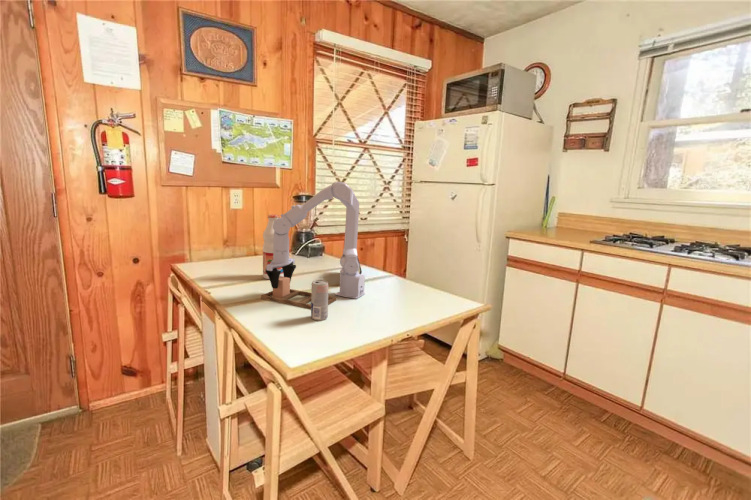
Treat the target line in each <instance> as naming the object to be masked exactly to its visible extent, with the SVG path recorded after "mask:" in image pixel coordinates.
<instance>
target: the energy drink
mask: <svg viewBox="0 0 751 500" xmlns="http://www.w3.org/2000/svg"><path fill="white" fill-rule="evenodd" d="M310 293H311V301H310V304H311V308H310V318H311V319H312V320H314V321H317V322H318V321H319V322H320V321H325V320H327V319H328V318H329V317H328V316H329V313H328V312H329V305H328V296H329V281H327V280H321V279H318V280H313V281H312V282H311V291H310Z"/></svg>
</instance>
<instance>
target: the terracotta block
mask: <svg viewBox="0 0 751 500" xmlns="http://www.w3.org/2000/svg"><path fill="white" fill-rule="evenodd" d="M290 289H291V281H290V278H287V277H282V276H279V282H278V288H277V289H276V288H272V291H273V295H272V297H277V298H281V297H283V296H286V295H288V294H290Z"/></svg>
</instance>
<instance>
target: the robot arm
mask: <svg viewBox="0 0 751 500" xmlns="http://www.w3.org/2000/svg"><path fill="white" fill-rule="evenodd" d="M352 188H353V187H351V186H349V185H348V184H347V183H346V182H343V181H334V182H333V183H331V185H328V186H326V187H324V188H323V189H321V190H320V191H318V192H317V193H316V194H315V195H313V196H312V197H311V198H310V199H308V200H307V201H305V203H303V204H296V205H294V204H292V205H291V207H290V209H289V210H288V211H286V212H285V213H281V214H280V218H278V219H276V220H275V222H274V224H273V229H274V238H273V260H272V261H271V263H270V264H268V265H267V269H266V273H267V275H268V277H269V279H268V280H269V281H270V285H271V288H272V289H273V288H276V289H277V288H278V282H279V276H280V273H281V271H278V270H277V268H280V267H282V269H283V273H284V277H287V278H290V282H291V281H292V277H293V274H294V272H295V269H296V268H297V265H296V264H295V263H296V262H295V261H296V259H295V258H292V257H290V237H289V232H290V230H291V228H294V227H295V226H297V225H298V224H300V223H301V222H302V221H303V220H305V219H306V218H307V217H308V212H309V211H311V210H312V209H314V208H315V207H317V206H319V205H320V204H321V203H322V202H324V201H330V200H334V198H335V199H337V200H338V201H340V202H341V203H342V204H343V205H344V206H345V207H346V208H345V209H346V211H345V224H344V225H345V229H344V245H343V250H342V256H341V257H340V260H339V264H340V266H341V267H342V268H341V269H340V270H339V291H338V292H336V293H334V295H335V296H337V297H345V298H350V299H355V300H358V299H359V298H361V297H362V296H364V295H365V294H366V293H365V284H366V283H365V282H366V281H365V275H364V274H362V273H361V274H359V273H358V272H359V271H358V270H359V263H360V261H359V262H358V259H359V256H358V233H359V232H358V231H359V215H360V201H359V200H358V198H357V196H356V194H355V193H354V190H353V189H352Z"/></svg>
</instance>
